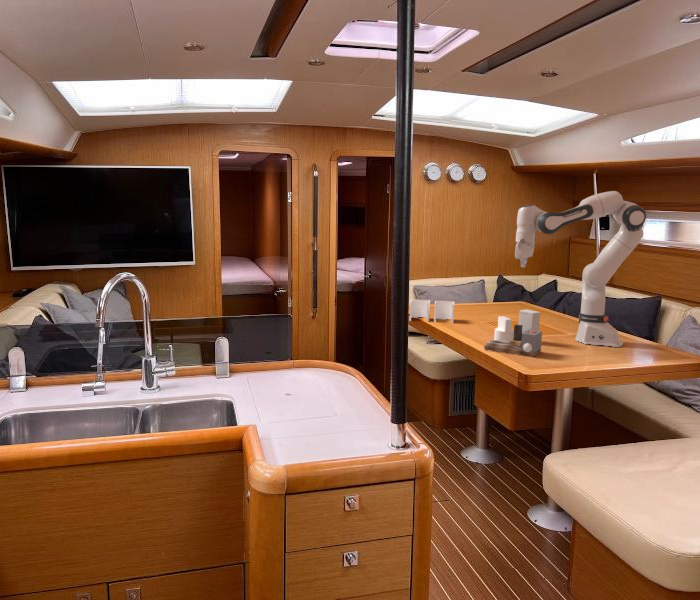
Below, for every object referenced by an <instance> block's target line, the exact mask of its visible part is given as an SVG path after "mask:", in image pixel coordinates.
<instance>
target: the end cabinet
mask: <svg viewBox="0 0 700 600" xmlns="http://www.w3.org/2000/svg"><path fill="white" fill-rule="evenodd" d="M529 331H534V332H535V333H529ZM542 339H543V330H532V329H529V330H527V331H525V332H524V333H522V342H521V352H522V351H524V352H531V353H535V352H536V351H537V350H539V346H540V348H541V349H542ZM538 353H539V352H538ZM536 354H537V352H536ZM539 354H540V353H539ZM524 355H525V356H524V357H529V355H527V356H526V354H524ZM537 355H538V354H537ZM520 356H522V353H521V355H520ZM531 356H534V355H531Z"/></svg>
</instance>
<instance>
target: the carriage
mask: <svg viewBox="0 0 700 600" xmlns="http://www.w3.org/2000/svg"><path fill="white" fill-rule="evenodd" d="M522 326H523V325H518V324H517V323H516V324H514V326H513V339H512V340H510V342H509V345H511V346H518V347H521V342H522Z"/></svg>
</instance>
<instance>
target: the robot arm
mask: <svg viewBox="0 0 700 600" xmlns="http://www.w3.org/2000/svg"><path fill="white" fill-rule="evenodd" d="M607 215H608V216H609V215H610V217H611V218H612V219H613V220H614V221H615V222H617V223H618V224H620V227H619V230H618V232H616V234H615V235H614V236H613V237H612V238H611V239H610V240H609V241H608V243H607V244H606V245H604V247H603V248H602V250H601V251H600V253H599V255H598V256H597V257H596V259H595V260H594V261H593V262H592V263H589V264H587V265H586V266H585V267H584V268H583V271H582V278H581V279H582V281H581V282H582V283H581V302H580V303H581V304H580V305H581V306H580V312H579V315H578V328H577V332H576V336H575V338H574V341H576V342H578V341H579V342H578V343H581V342H582V343H581V344H583V343H584V344H583V345H586V344H591V345H590V346H597V345H604V346H603V347H608V346H612V347H611V348H620V347H621V348H622V347H623V346H624V341H623V340H620V335H619V332H618V330H617V329H616V328H615V327H613V326H612V325H611V324H610V323H609V315H606V314H605V312H606V311H605V309H606V300H607V299H606V285H607V284H608V282H609V281H610V279H611V278H612V277H613V276H614V274H615V273H616V272H617V271H618V269H619V267H620V266H621V265H622V264H623V262H624V261H625V260H626V259H627V258H628V257H629V256H630V254H631V253H632V252H633V251H634V250H635V249H636V247H637V246H638V245H639V244H640V242H641V240H642V238H643V237H644V233H645V232H644V229H643V227H644V224H645V222H646V220H647V213H646V210H645V209H644V208H643V207H642V206H641V205H638V204H636V203H634V202H631V201H628V200H624V199H623V196H622V194H621V193H620V192H618V191H617V190H611V191H605V192H600V193H597V194H596V193H595V194H592V195H591V196H588V197H586V198H584V199H582V200H581V201H580V202H579V205H577V206H576V207H573V208H570V209H568V210H565V211H564V210H563V211H560V212H554V211H553V212H548V211H545V210H542V209H541V208H539V207H537V206H536V205H535V204H527V205H522V206H521V207H519V208H518V211H517V216H516V227H517V228H516V231H515V242H516V245H515V251H514V258H515V259H517V260H519V261H520V267H521V268H526V267H527V263H528V258H532V257H533V255H534V252H535V243H536V242H537V237H536V232H537V231H539V232H541V233H543V234H546V235H553V234H554V233H557V232H558V231H559V230H561V228H563V227H564V226H567V225H570V224H573V223H575V222H580V221H584V220H585V221H586V220H587V221H588V220H594V219H599V218H602V217H605V216H607Z"/></svg>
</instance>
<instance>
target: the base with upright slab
mask: <svg viewBox="0 0 700 600" xmlns="http://www.w3.org/2000/svg"><path fill="white" fill-rule="evenodd" d="M512 320H513V319H511V318H509V317H507V316H503V315H501V316H497V327H496V328H494V335H493V336H494V337H493V340H498V341H505V342H510V340H512V339H513V337H514V329H512Z"/></svg>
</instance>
